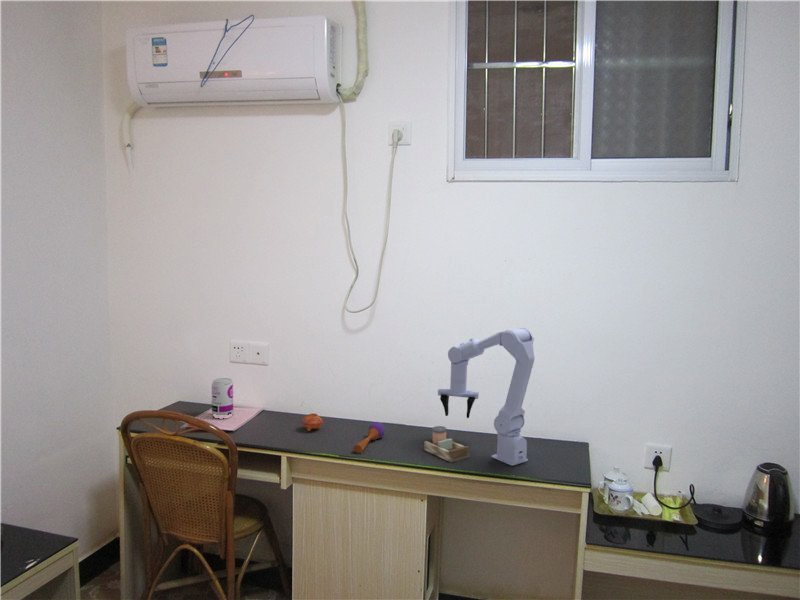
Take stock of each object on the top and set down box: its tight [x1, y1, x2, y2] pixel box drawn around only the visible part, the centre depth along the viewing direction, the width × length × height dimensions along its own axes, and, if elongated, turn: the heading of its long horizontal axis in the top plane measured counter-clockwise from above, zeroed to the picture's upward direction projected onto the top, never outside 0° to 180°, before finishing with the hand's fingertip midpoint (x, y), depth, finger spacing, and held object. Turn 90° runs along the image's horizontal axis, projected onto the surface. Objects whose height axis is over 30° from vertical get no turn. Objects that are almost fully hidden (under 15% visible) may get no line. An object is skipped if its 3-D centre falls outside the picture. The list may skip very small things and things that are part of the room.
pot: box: [301, 412, 324, 432], centre depth 220 cm, size 8×8×7 cm
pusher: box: [438, 437, 453, 450], centre depth 199 cm, size 1×6×3 cm, turn 127°
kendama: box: [352, 421, 386, 454], centre depth 207 cm, size 6×6×20 cm
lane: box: [423, 440, 471, 463], centre depth 199 cm, size 14×8×4 cm, turn 37°
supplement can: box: [211, 377, 234, 415], centre depth 233 cm, size 8×8×15 cm
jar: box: [432, 425, 447, 446], centre depth 201 cm, size 5×5×7 cm
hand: (457, 416), depth 210 cm, fingers open, 7 cm apart
